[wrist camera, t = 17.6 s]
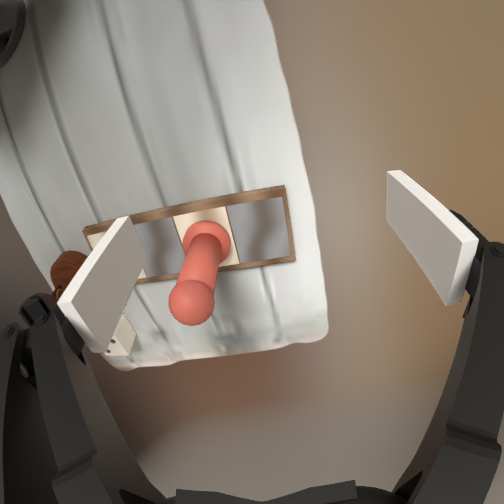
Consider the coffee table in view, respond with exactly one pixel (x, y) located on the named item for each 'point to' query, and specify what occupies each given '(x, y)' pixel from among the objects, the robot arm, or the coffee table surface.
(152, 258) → the board
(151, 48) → the coffee table surface
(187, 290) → the pawn
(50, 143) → the coffee table surface
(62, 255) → the music box
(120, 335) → the die
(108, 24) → the coffee table surface
